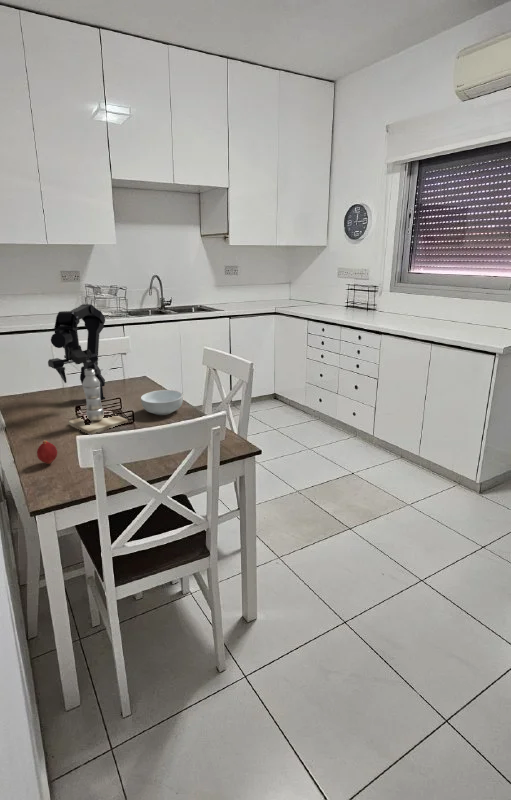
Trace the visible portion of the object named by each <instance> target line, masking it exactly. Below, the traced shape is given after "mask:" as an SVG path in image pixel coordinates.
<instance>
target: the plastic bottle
mask: <svg viewBox="0 0 511 800" xmlns="http://www.w3.org/2000/svg"><path fill="white" fill-rule="evenodd" d="M85 376H86V377H85V378H84V380H83V384H82V383H81V386H82V385H83V386H82V389H83V392H84V396H85V397H84V398H85V401H86V402H85V403H86V413H85V415H86V416H87V418H88V419H89V420H90V421H99V420H101V419H103V417H104V408H103V405H102V399H100V381H99V380H98V378H97V377H96V376H95V370H94V369H85Z"/></svg>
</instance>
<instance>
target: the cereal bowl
mask: <svg viewBox="0 0 511 800" xmlns="http://www.w3.org/2000/svg"><path fill="white" fill-rule="evenodd" d="M183 399H184V396H183V393H182V392H180V391H178V390H173V389H162V390H159V389H158V390H154V391H150V392H147V393H144V394H142V395H141V397H140V402H141V406H142V408H143V409H144V410H145V411H146V412H148V413H150V414H154V415H155V416H166V415H171V414H172V413H173V412H176V411H178V409H180V408H181V406H182V405H183V401H184V400H183Z"/></svg>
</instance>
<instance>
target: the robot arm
mask: <svg viewBox="0 0 511 800" xmlns="http://www.w3.org/2000/svg"><path fill="white" fill-rule="evenodd" d="M80 320H82V321H83V322H84V327H85V329H86V331H87V342H86V343H87V344H86V349H85V350H82V346H81V345H80V342H79V334H78V331H79V327H78V325H79V323H80ZM105 322H106V317H105V315H104V314H103V312H102V311H101V310H99V309H98V308H95V306H94V305H93V304H91V303H90V304H88V303H87V304H86V303H85V304H84V303H83V304H80V305H79V306H77V307H75V308H73V309H71V310H65V311H58V313H57V315H56V317H55V322H54V323H55V324H54V329H53V330H54V333H53V334H52V336H51V337H50V343H51V345H52V346H53V347H55V348H57V349H61V348H62V349H63V351H64V359H61V358H58V357H56V358H49V359H48V361H47V365H48V367H49V368H52V369H54V370H56V372H57V373H58V374H59V376H60V378H61V379H62V381H63V382H64V384H67V376H66V372H65V371H66V367H65V366H64V365H66V364H73V363H74V364H75V365H81V364H82V365H83V366H81V367H80V375H79V380H80V383H81V386H82V387H83V385H82V384H83V380H84V378H85V377H86V376H85V369H94V370H95V376H96V377H97V378H98V380H99V381H100V399H101V400H105V399H106V396H104V389H103V387H105V385H106V379H105V378H104V377H103V376H102V371H101V369H100V368H99V365H98V362H99V348H100V346H99V345H100V344H99V343H100V334H101V332H102V331H103V330H104V327H105V326H104V325H105Z"/></svg>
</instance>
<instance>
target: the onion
mask: <svg viewBox="0 0 511 800" xmlns="http://www.w3.org/2000/svg"><path fill="white" fill-rule="evenodd" d="M36 454H37V455H36V456H37V459H38V460H39V461H41V462H42V463H44V464H47V465H51V464H52V462H54V461H55V460H56V459H57V456H58V449H57V447H56V445H55V444H53V443H51V442H49V441H47V440H43V441H42V443H41V444H40V445H39V446H38V448H37V451H36Z"/></svg>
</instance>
